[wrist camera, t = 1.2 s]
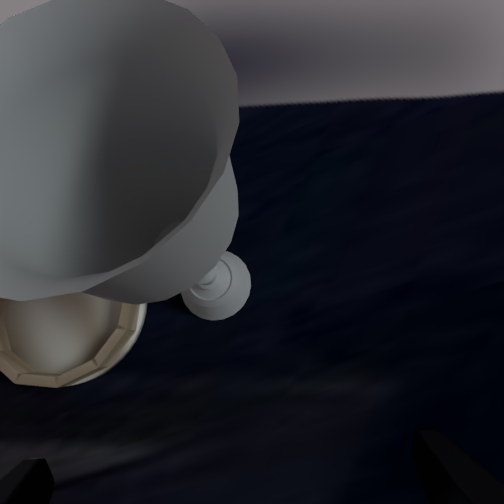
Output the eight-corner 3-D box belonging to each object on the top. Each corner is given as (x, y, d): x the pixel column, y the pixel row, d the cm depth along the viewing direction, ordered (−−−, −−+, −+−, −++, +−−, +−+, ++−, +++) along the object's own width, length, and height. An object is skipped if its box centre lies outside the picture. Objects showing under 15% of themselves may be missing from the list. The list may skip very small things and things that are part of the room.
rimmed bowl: (79, 419, 22) (57, 427, 20) (-27, 326, 24) (-57, 324, 22) (177, 286, 24) (167, 280, 22) (71, 211, 26) (53, 199, 24)
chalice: (213, 218, 25) (84, -53, 8) (284, 273, 24) (313, 84, 7) (146, 294, 24) (-172, 162, 7) (218, 357, 23) (39, 390, 5)
